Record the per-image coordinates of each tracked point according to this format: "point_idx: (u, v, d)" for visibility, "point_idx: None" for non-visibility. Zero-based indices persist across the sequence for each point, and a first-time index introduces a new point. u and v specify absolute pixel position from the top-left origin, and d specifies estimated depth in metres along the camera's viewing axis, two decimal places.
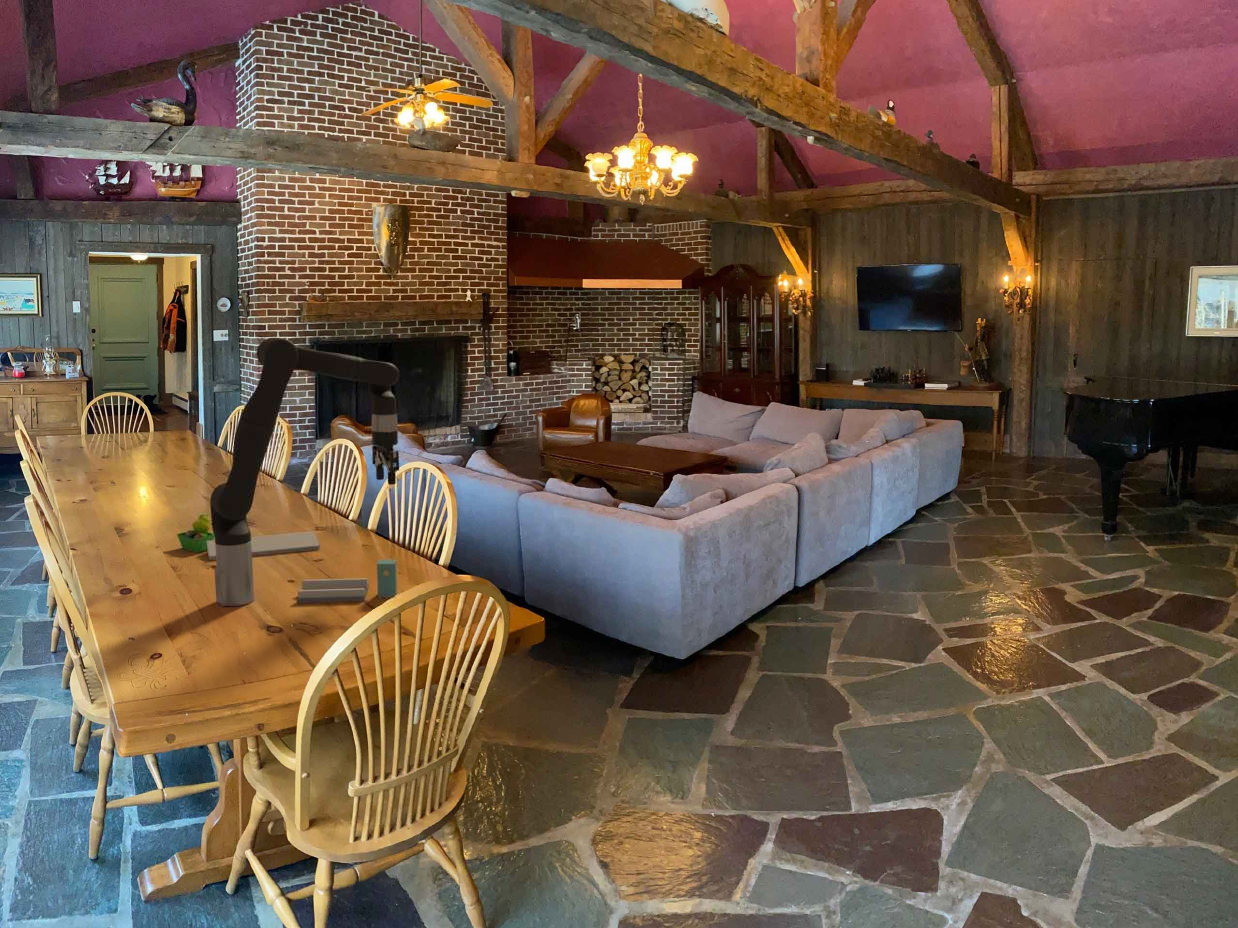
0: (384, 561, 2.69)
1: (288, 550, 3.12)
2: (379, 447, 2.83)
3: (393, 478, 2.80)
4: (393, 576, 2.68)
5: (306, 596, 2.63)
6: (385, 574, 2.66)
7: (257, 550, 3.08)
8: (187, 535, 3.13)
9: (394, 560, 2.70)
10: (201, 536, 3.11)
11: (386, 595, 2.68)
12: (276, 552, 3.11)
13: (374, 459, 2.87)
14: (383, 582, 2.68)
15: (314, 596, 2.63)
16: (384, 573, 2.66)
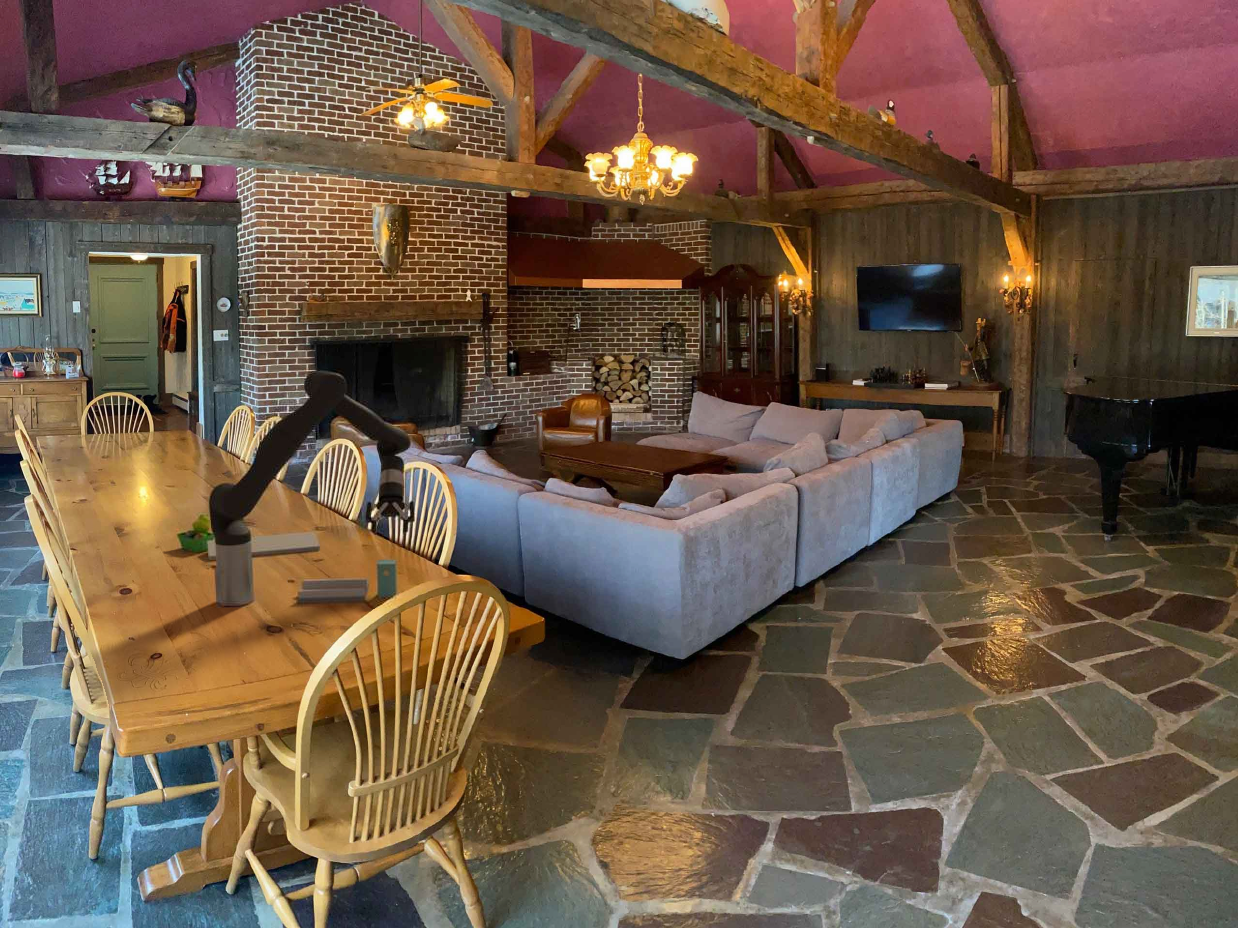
0: (384, 561, 2.69)
1: (288, 550, 3.12)
2: (385, 501, 2.84)
3: (407, 527, 2.81)
4: (393, 576, 2.68)
5: (306, 596, 2.63)
6: (385, 574, 2.66)
7: (257, 550, 3.08)
8: (187, 535, 3.13)
9: (394, 560, 2.70)
10: (201, 536, 3.11)
11: (386, 595, 2.68)
12: (276, 552, 3.10)
13: (370, 514, 2.81)
14: (383, 582, 2.68)
15: (314, 596, 2.63)
16: (384, 573, 2.66)
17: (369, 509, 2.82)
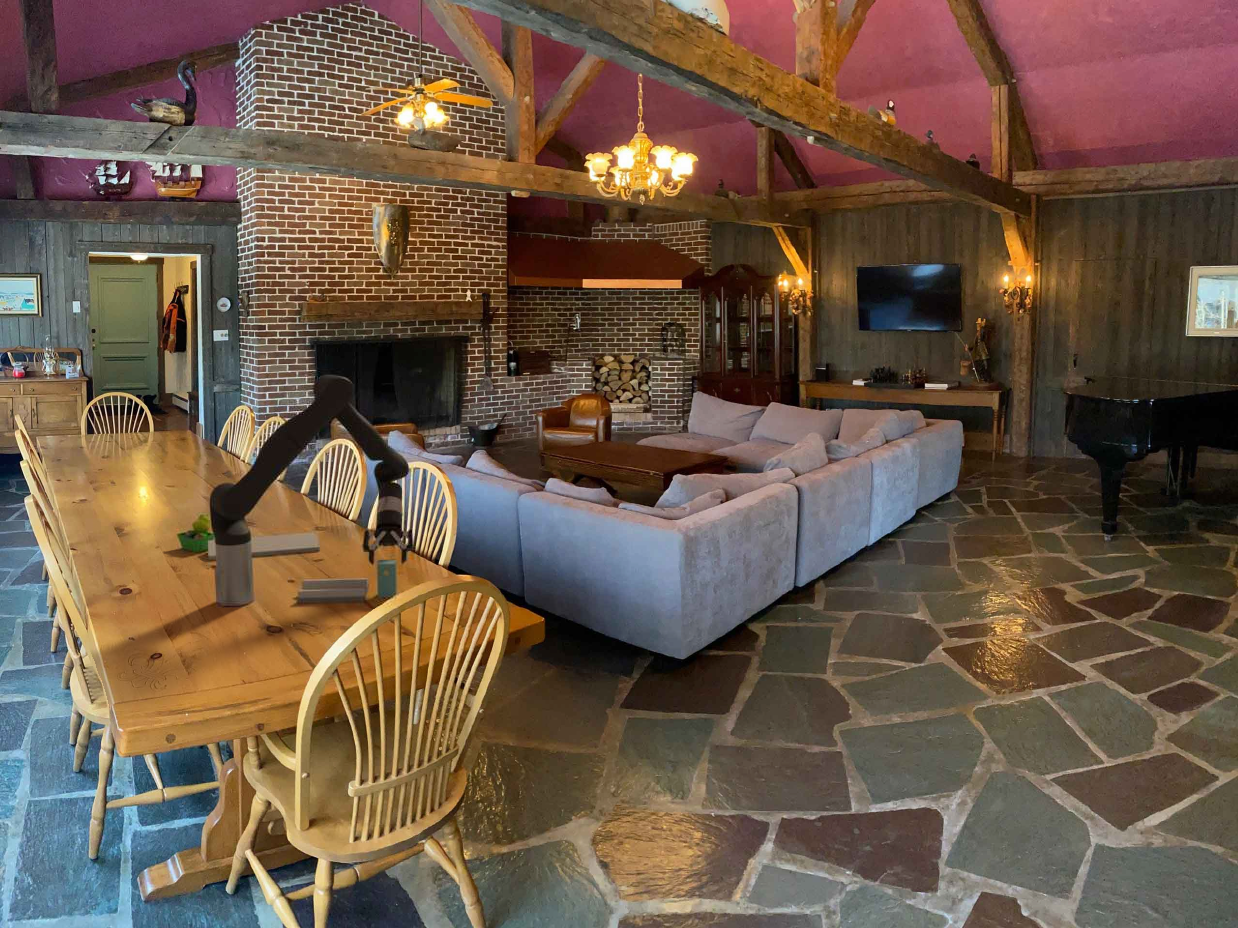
0: (384, 561, 2.69)
1: (288, 551, 3.11)
2: (382, 530, 2.77)
3: (406, 556, 2.74)
4: (393, 576, 2.68)
5: (306, 596, 2.63)
6: (385, 574, 2.66)
7: (257, 551, 3.07)
8: (187, 535, 3.13)
9: (394, 560, 2.70)
10: (201, 536, 3.11)
11: (386, 595, 2.68)
12: (276, 553, 3.10)
13: (367, 543, 2.74)
14: (383, 582, 2.68)
15: (314, 596, 2.63)
16: (384, 573, 2.66)
17: (366, 538, 2.75)
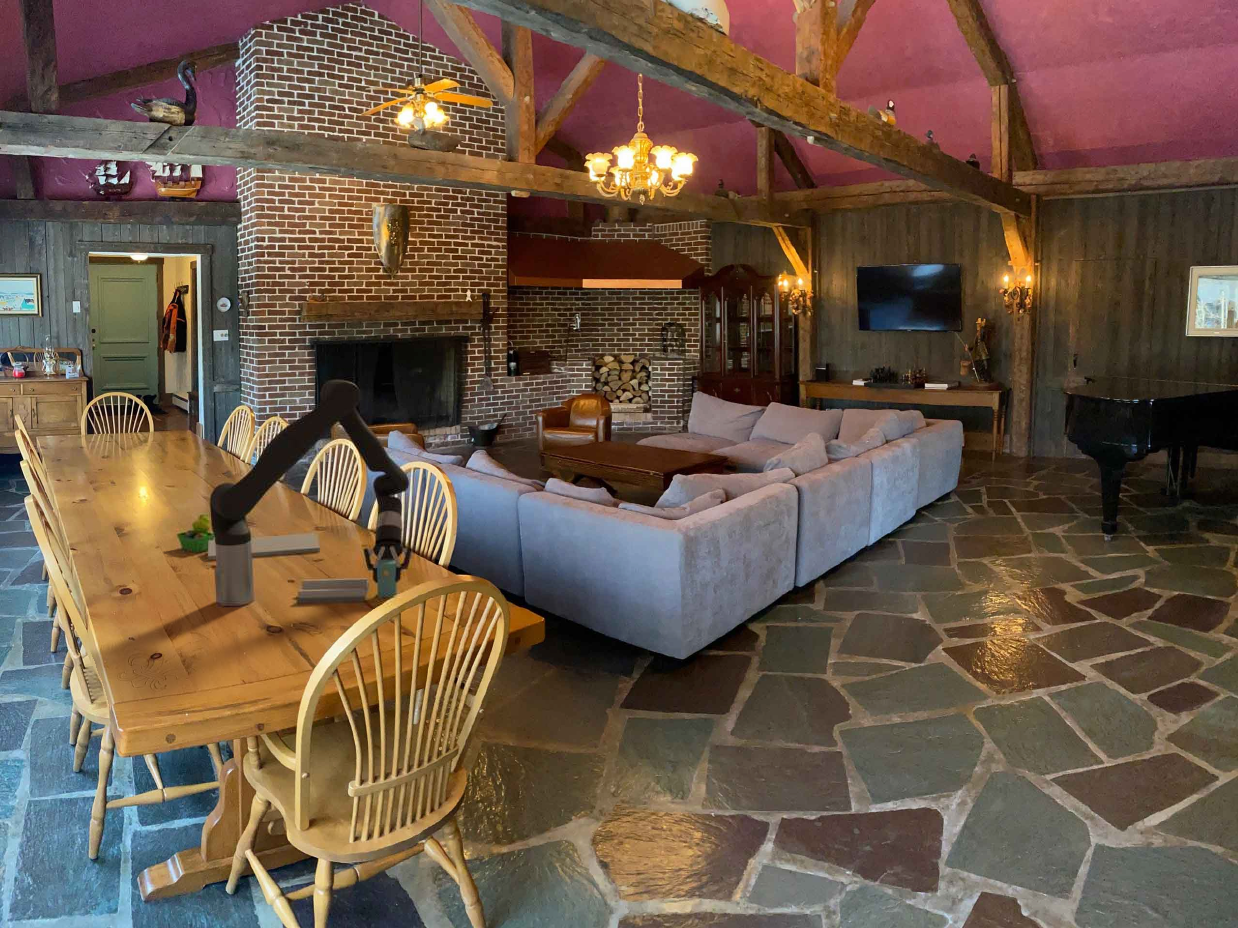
0: (384, 561, 2.69)
1: (288, 552, 3.10)
2: (382, 545, 2.73)
3: None
4: (393, 576, 2.68)
5: (306, 596, 2.63)
6: (385, 573, 2.66)
7: (256, 551, 3.07)
8: (187, 535, 3.13)
9: (394, 560, 2.70)
10: (201, 536, 3.11)
11: (386, 595, 2.68)
12: (275, 553, 3.09)
13: None
14: (383, 582, 2.68)
15: (314, 596, 2.63)
16: (384, 573, 2.66)
17: (368, 556, 2.71)
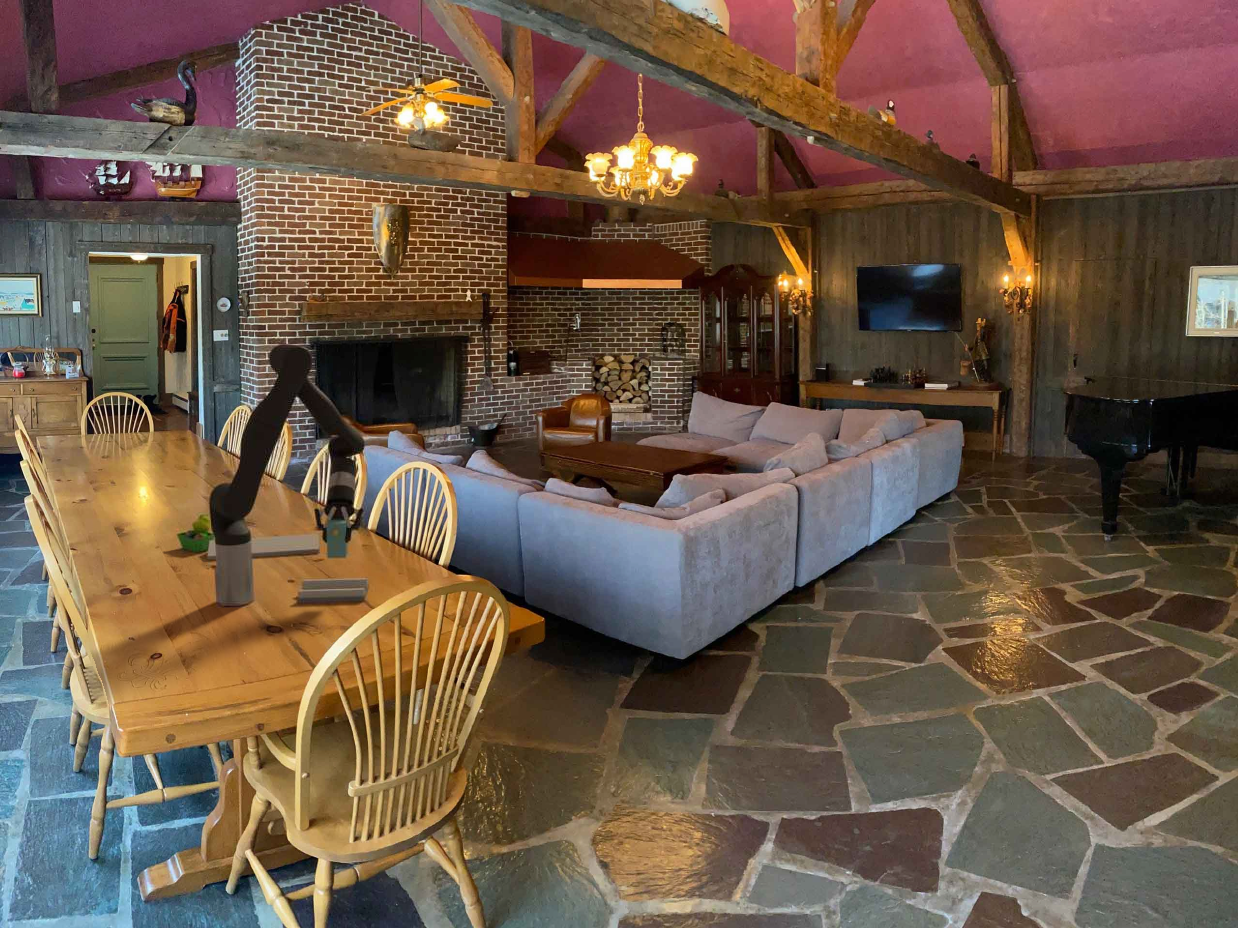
0: (334, 521, 2.65)
1: (287, 552, 3.09)
2: (333, 505, 2.69)
3: (350, 535, 2.65)
4: (343, 536, 2.63)
5: (306, 596, 2.63)
6: (335, 533, 2.62)
7: (256, 551, 3.06)
8: (187, 535, 3.13)
9: (345, 520, 2.66)
10: (201, 536, 3.11)
11: (336, 555, 2.64)
12: (275, 554, 3.08)
13: (320, 520, 2.66)
14: (332, 542, 2.63)
15: (314, 596, 2.63)
16: (333, 533, 2.62)
17: (318, 516, 2.66)
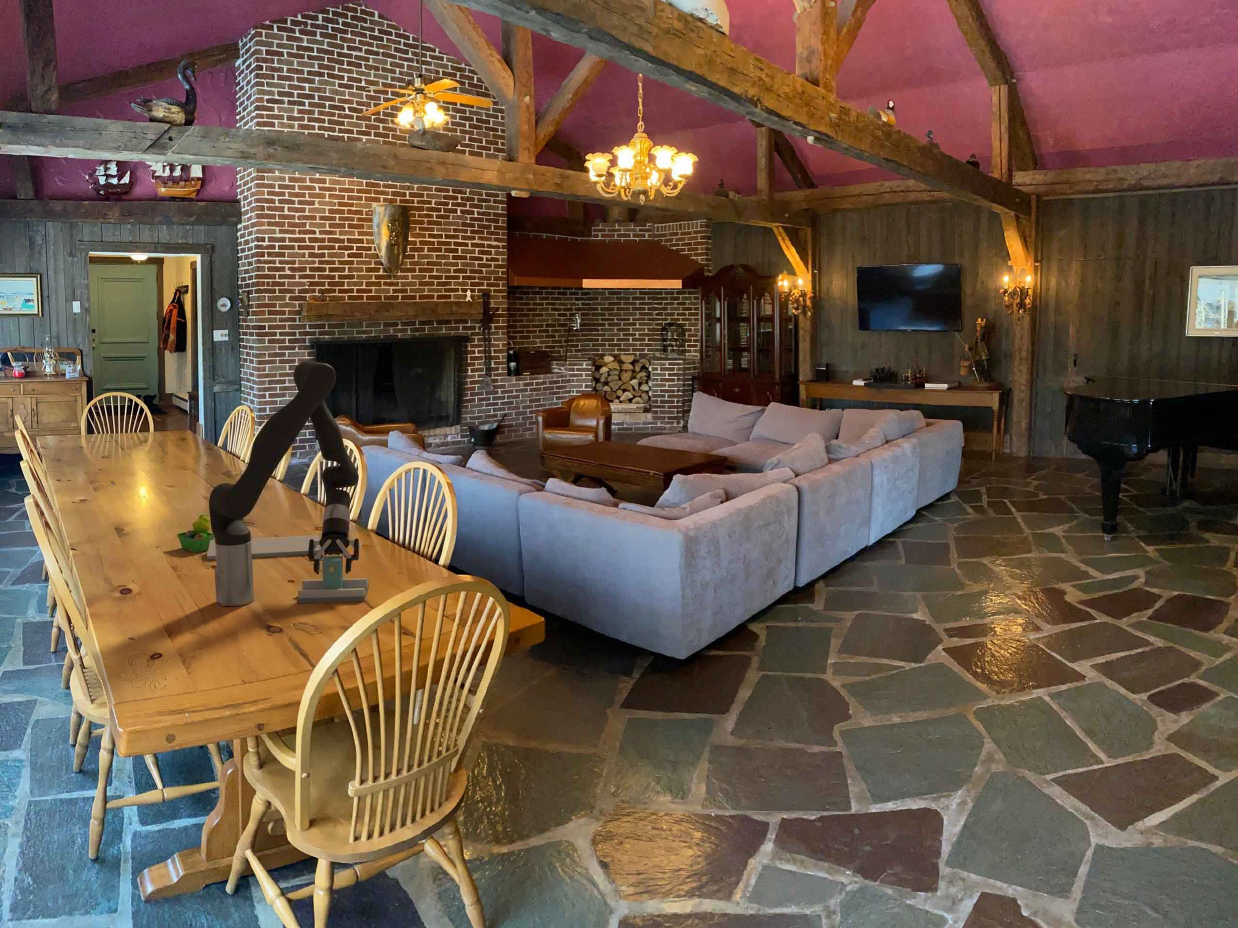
0: (330, 558, 2.67)
1: (286, 553, 3.08)
2: (328, 538, 2.71)
3: (350, 566, 2.68)
4: (339, 573, 2.66)
5: (306, 596, 2.63)
6: (330, 570, 2.64)
7: (255, 552, 3.06)
8: (187, 535, 3.13)
9: (340, 557, 2.68)
10: (201, 536, 3.11)
11: None
12: (274, 555, 3.07)
13: (312, 552, 2.68)
14: (328, 579, 2.65)
15: (314, 596, 2.63)
16: (329, 570, 2.64)
17: (311, 547, 2.68)
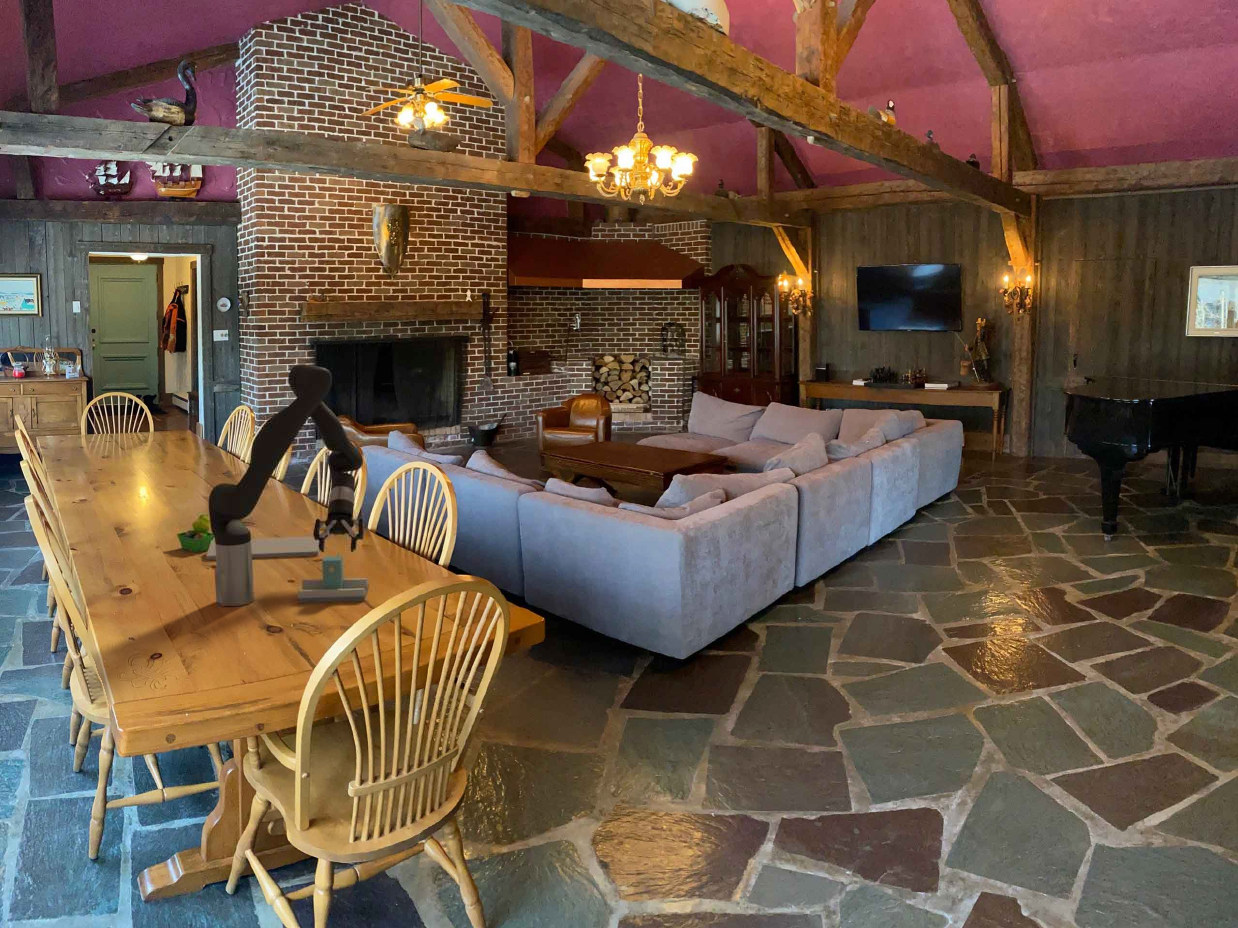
0: (330, 558, 2.67)
1: (286, 554, 3.07)
2: (333, 518, 2.83)
3: (355, 545, 2.80)
4: (339, 573, 2.66)
5: (306, 596, 2.63)
6: (330, 570, 2.64)
7: (254, 552, 3.05)
8: (187, 535, 3.13)
9: (340, 557, 2.68)
10: (201, 536, 3.11)
11: None
12: (274, 556, 3.06)
13: (318, 531, 2.80)
14: (328, 579, 2.65)
15: (314, 596, 2.63)
16: (329, 570, 2.64)
17: (317, 526, 2.80)
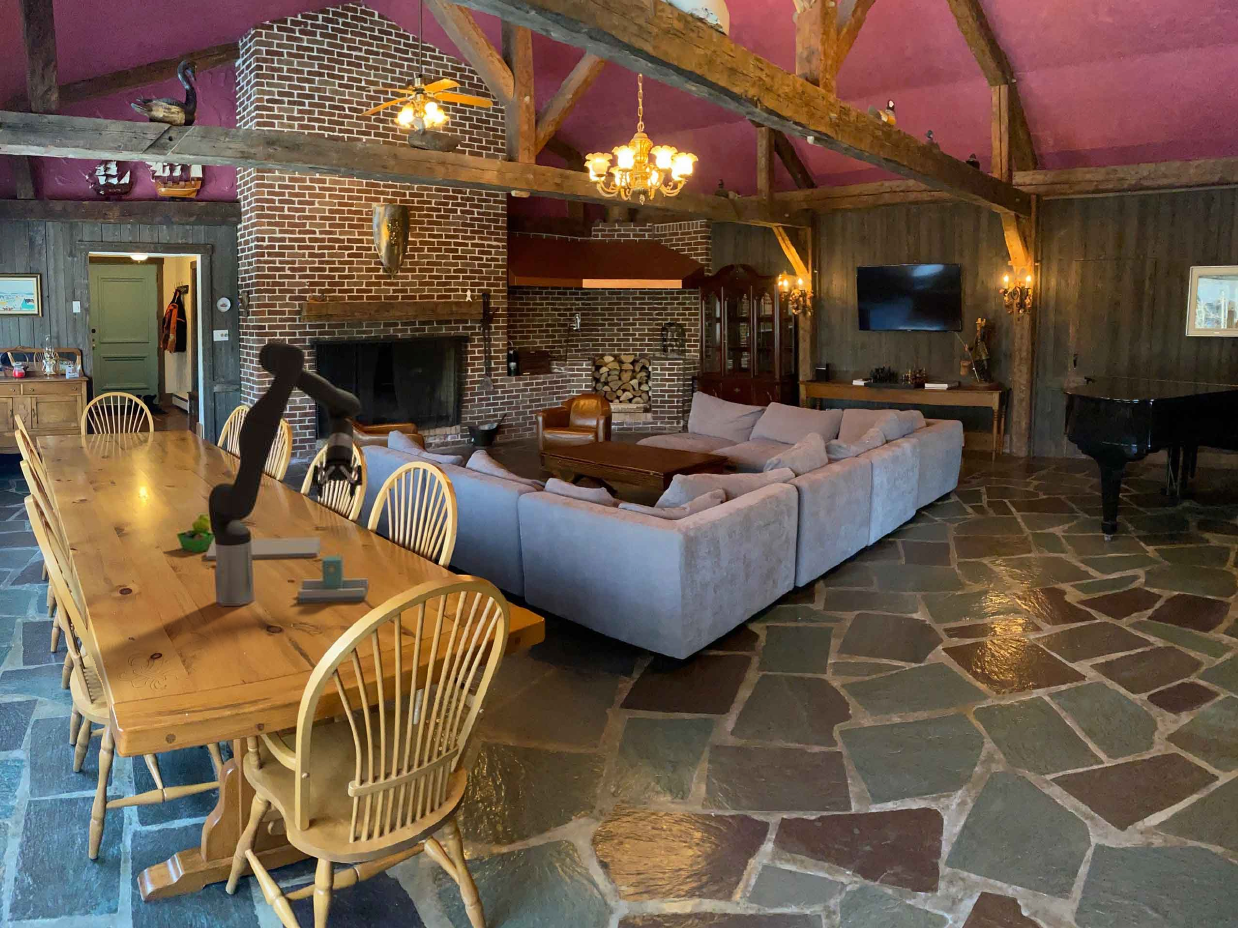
0: (330, 558, 2.67)
1: (285, 555, 3.06)
2: (332, 465, 2.80)
3: (354, 491, 2.77)
4: (339, 573, 2.66)
5: (306, 596, 2.63)
6: (330, 570, 2.64)
7: (254, 553, 3.04)
8: (187, 535, 3.13)
9: (340, 557, 2.68)
10: (201, 536, 3.11)
11: None
12: (273, 556, 3.06)
13: (316, 477, 2.77)
14: (328, 579, 2.65)
15: (314, 596, 2.63)
16: (329, 570, 2.64)
17: (316, 472, 2.78)
